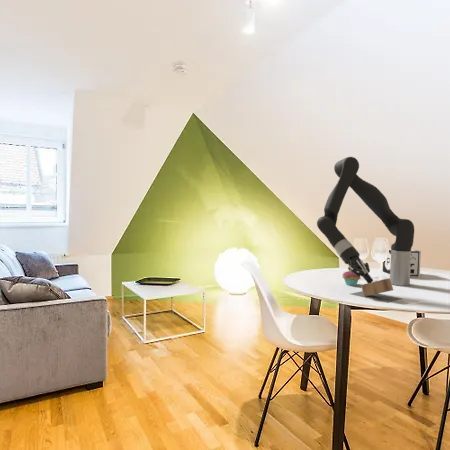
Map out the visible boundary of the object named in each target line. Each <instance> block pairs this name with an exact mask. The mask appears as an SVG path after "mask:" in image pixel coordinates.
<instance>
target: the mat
mask: <svg viewBox="0 0 450 450" xmlns="http://www.w3.org/2000/svg"><path fill="white" fill-rule="evenodd" d="M350 295H352V296H355V297H360V298H361V297H362V298H365V299H370V300H374V301H379V302H383V303H388V304H389V303H392V302H395V301H399V300H403V298H402V297H398V296H392V295H387V294H383V293H378V294H374V295H369V296H364V293H363V290H361V291H357V292H352V293H350Z"/></svg>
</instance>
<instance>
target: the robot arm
mask: <svg viewBox="0 0 450 450" xmlns="http://www.w3.org/2000/svg"><path fill="white" fill-rule="evenodd" d="M333 168H334V173H335V174H336V176H337V177H339V178H338V181H337V183H336V184H335V186H334V188H333V189H332V190H331V192H330V194H329V195H328V197H327V200H326V202H325V205H324V210H323V212H324V213H323V214H324V216H323V215H322V216H320V217H319V218H318V219H317V221H316V225H317V228H318V229H319V231H320V232H321V233H322V234H323V235H324V236H325V238H326V240H327V241H328V242H329V244H330V245H331V246H332V247H333V249H334V250H335V252H336V254H337V255H338V256H339V258H341V260H342V262H343V263H344V264H345V265H348V264H349V265H350V266H348V267H347V269H348V271H349V270H350V271H352V272H353V273H355V274H356V275H358V276H360V278H361V277H362V278H363V279H364V280H365V282H366V284H367V283H371V282H374V279H373V277H372V276H371V275H370V274H369V273H370V272H371V271H370V266H369V263H368V262H363V260H362V259H361V258H360V256H361V255H360V252H358V250H357V249H356V248H355V247H354V245H353V244H352V243H351V242H350V241H349V240H348V239H347V238H346V237H345V234H343V233H342V232H341V231H340V230H339V228H338V227H337V223H338V215H339V212H340V210H341V207H342V204H343V203H344V202H343V201H344V199H345V197H346V195H347V193H348V191H349V188H350V189H352V191H353V192H354V193H355V194H356V195H357V196H358V197H359V198H360V199H361V200H362V202H363V203H364V204H365V205H366V206H367V207H368V209H370V210H371V211H372V212H373V213H374V214H375V215H376V216H377V218H379V220H381V222H382V224H383V225H384V226H385V227H386V229H387V230H388V231H389V233H390V234H391V235H392V236H394V237H395V240H394V242H393V243H391V245H390V248H391V264H390V275H389V278H390V281H391V284H392V286H394V285H395V286H400V287H403V286H404V287H407V286H410V284H411V277H410V269H411V266H410V264H411V249H413V248H412V247H413V245H414V237H415V225H414V223H413V222H412V220H410V219H407V218H400V217H399V216H398V215H396V213H394V212H393V210H392V209H391V207H390V205H389V202H388V199H387V198H386V196H385V195H384V194H383V192H382V191H381V190H380V189H379V188H377V187H376V186H375V185H374V184H372V183H370V182H368V181H366V180H364V179H362V178H361V177H360V176H359V175H358V174H357V173H358V171H359V168H360V163H359V161H358V159H357V158H356V157H354V156H347V157H345V158H343V159H341V160H338V161H336V163H334V166H333Z"/></svg>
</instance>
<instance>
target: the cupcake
mask: <svg viewBox="0 0 450 450" xmlns="http://www.w3.org/2000/svg"><path fill="white" fill-rule="evenodd" d="M347 266H348V267H349V266H350V265H349V264H347ZM342 279H344V283H345V285H346V286H357V284H358V282H359V280H361V276H358V275H356V274H355V273H353V272H352V271H350V270H349V269H348V271H344V272H343V273H342Z"/></svg>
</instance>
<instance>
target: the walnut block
mask: <svg viewBox="0 0 450 450" xmlns="http://www.w3.org/2000/svg"><path fill="white" fill-rule="evenodd" d="M360 287H361V291H363V293H364V296H369V295H374V294H383V293H387V292H392V291H394V288H393V284H391V281H390V277H389V278H385V279H381V280H377V281H376V280H375V281H372V282H371V283H367V282H366V283H364V284H361V286H360Z"/></svg>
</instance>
